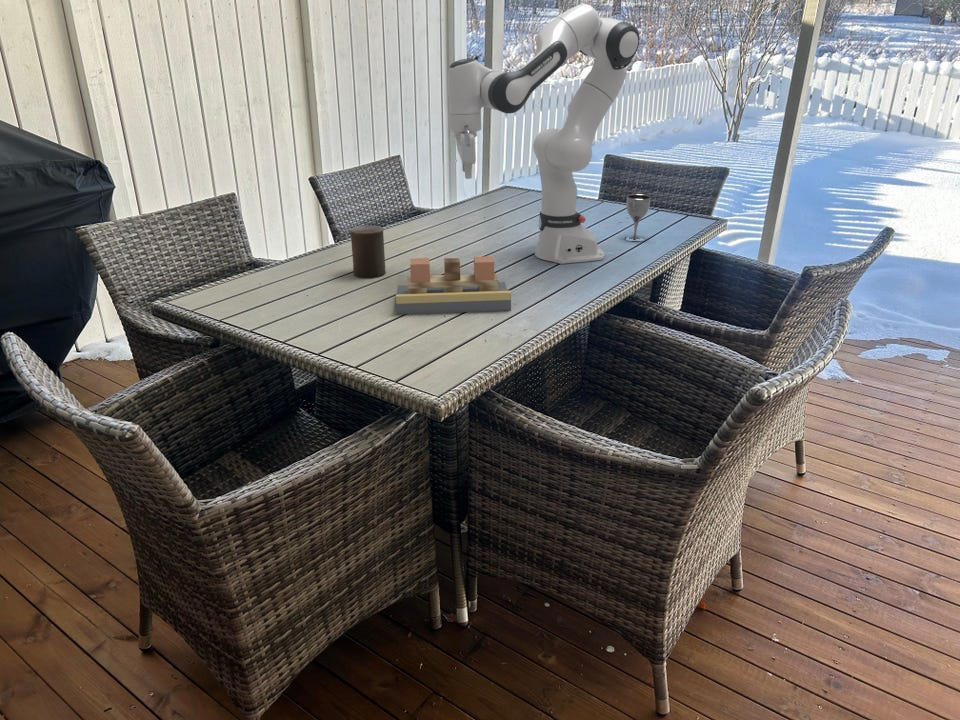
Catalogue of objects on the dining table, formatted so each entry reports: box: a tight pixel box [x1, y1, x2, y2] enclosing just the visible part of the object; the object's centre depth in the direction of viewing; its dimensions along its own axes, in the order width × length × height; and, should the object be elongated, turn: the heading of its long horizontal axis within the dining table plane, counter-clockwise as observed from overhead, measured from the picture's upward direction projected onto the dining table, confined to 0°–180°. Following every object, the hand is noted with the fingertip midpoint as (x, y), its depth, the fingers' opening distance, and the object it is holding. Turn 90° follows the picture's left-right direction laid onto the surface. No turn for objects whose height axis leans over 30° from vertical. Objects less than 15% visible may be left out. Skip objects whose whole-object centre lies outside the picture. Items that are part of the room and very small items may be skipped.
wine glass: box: [626, 193, 652, 240], centre depth 235 cm, size 8×8×15 cm
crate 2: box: [473, 255, 495, 281], centre depth 180 cm, size 5×5×5 cm
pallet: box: [406, 257, 499, 294], centre depth 180 cm, size 24×6×9 cm, turn 95°
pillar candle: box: [350, 225, 386, 279], centre depth 203 cm, size 10×10×15 cm
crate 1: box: [409, 257, 431, 283], centre depth 179 cm, size 5×5×5 cm
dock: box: [395, 281, 512, 315], centre depth 183 cm, size 30×14×5 cm, turn 95°
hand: (467, 174), depth 191 cm, fingers open, 8 cm apart
